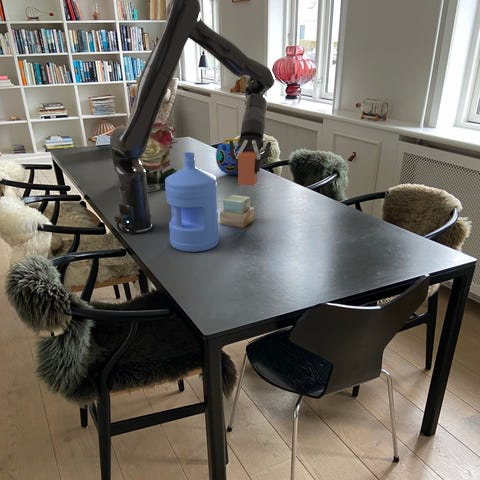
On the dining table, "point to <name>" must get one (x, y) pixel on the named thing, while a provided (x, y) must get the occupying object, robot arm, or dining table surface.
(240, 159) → the tall block
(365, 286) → the dining table surface
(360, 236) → the dining table surface
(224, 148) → the ceramic pot
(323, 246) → the dining table surface
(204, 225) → the water jug
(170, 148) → the rose bouquet
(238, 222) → the stack
